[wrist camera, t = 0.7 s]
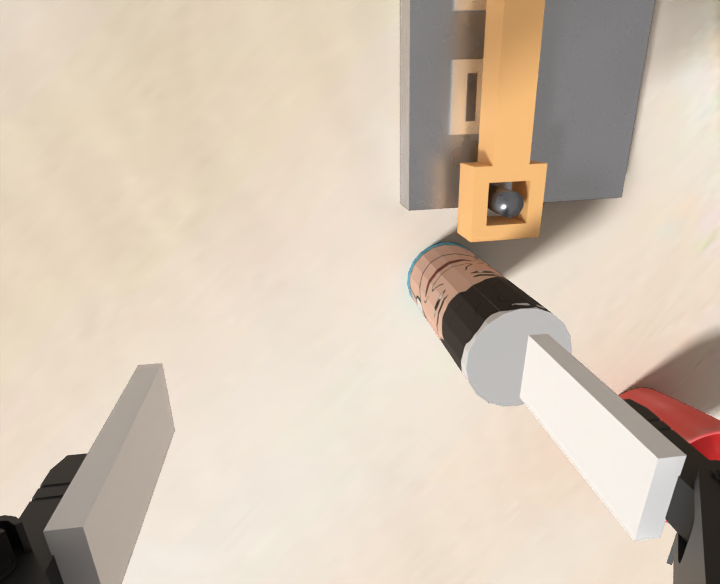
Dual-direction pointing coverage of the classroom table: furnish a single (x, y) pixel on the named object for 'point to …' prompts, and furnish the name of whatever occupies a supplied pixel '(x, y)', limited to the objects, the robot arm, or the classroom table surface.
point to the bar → (506, 125)
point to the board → (552, 107)
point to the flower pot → (681, 420)
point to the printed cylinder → (480, 319)
